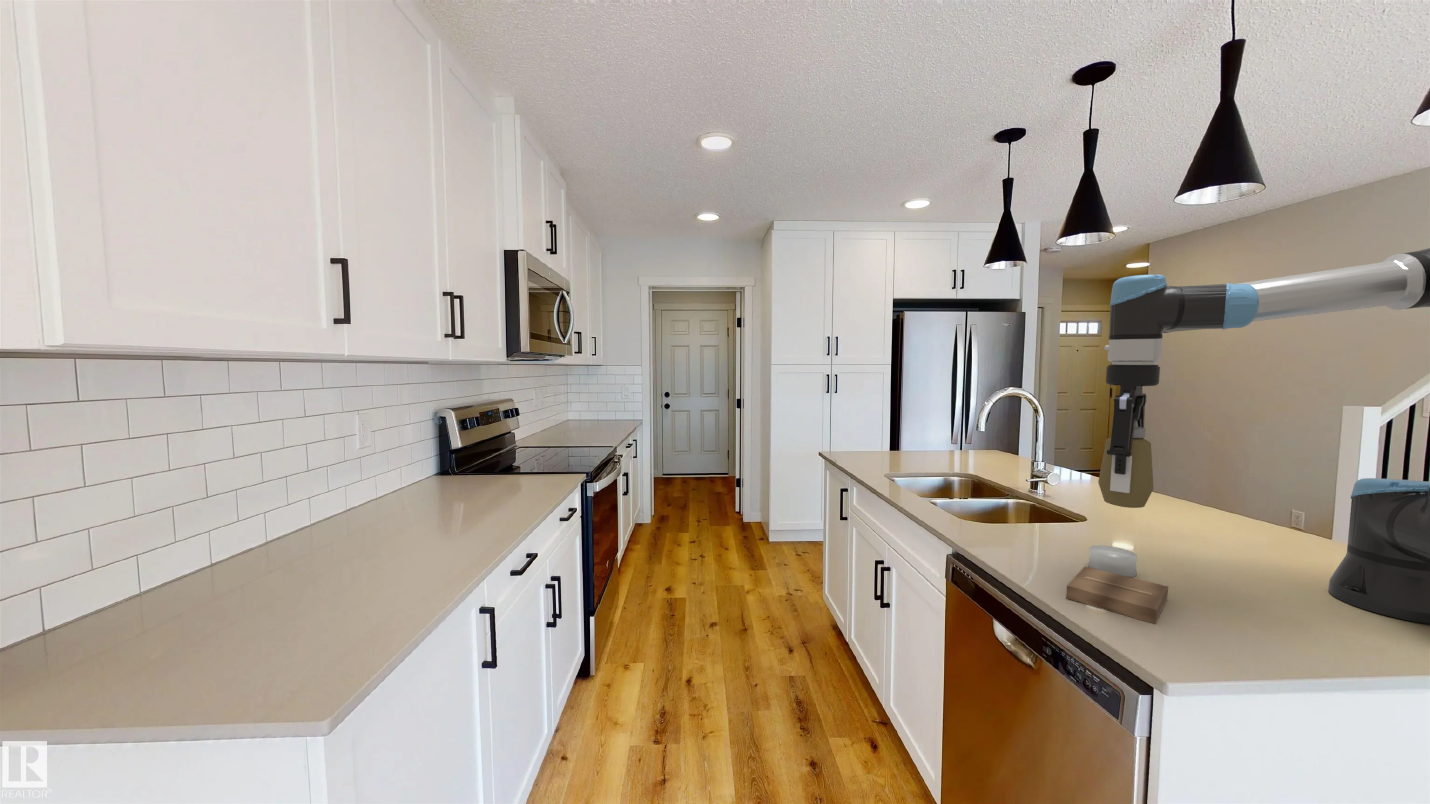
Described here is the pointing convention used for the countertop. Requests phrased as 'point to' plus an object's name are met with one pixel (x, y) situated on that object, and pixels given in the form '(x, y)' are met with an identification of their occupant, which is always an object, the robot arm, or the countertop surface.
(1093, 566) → the white dome cap
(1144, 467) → the squeeze bottle
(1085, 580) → the plate
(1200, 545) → the countertop surface
